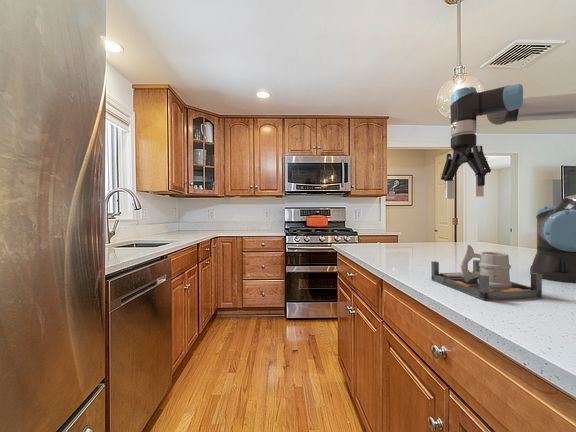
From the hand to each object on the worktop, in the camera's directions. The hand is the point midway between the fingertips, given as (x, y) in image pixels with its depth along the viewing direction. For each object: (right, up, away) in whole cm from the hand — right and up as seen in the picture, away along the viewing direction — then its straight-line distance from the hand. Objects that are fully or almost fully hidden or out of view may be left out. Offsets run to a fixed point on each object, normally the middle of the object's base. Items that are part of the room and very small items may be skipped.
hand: (463, 197), depth 96 cm
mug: (-5, -27, -18) cm, 32 cm away
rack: (-5, -27, -16) cm, 32 cm away
